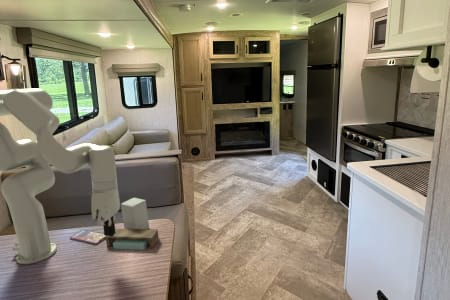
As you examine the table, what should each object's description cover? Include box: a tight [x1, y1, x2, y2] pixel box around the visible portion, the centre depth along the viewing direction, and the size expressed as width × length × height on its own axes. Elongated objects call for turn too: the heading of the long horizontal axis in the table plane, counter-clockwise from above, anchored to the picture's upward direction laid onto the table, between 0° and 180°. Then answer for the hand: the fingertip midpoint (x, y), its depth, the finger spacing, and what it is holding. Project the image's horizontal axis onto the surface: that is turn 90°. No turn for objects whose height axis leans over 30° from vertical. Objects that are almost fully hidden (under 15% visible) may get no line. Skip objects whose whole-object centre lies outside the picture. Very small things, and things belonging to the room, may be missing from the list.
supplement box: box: [120, 197, 150, 229], centre depth 122 cm, size 7×7×13 cm
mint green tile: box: [112, 239, 149, 251], centre depth 112 cm, size 12×6×2 cm, turn 81°
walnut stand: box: [105, 227, 160, 249], centre depth 113 cm, size 18×6×4 cm, turn 81°
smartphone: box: [69, 229, 106, 246], centre depth 119 cm, size 1×7×15 cm
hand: (109, 234), depth 100 cm, fingers closed
